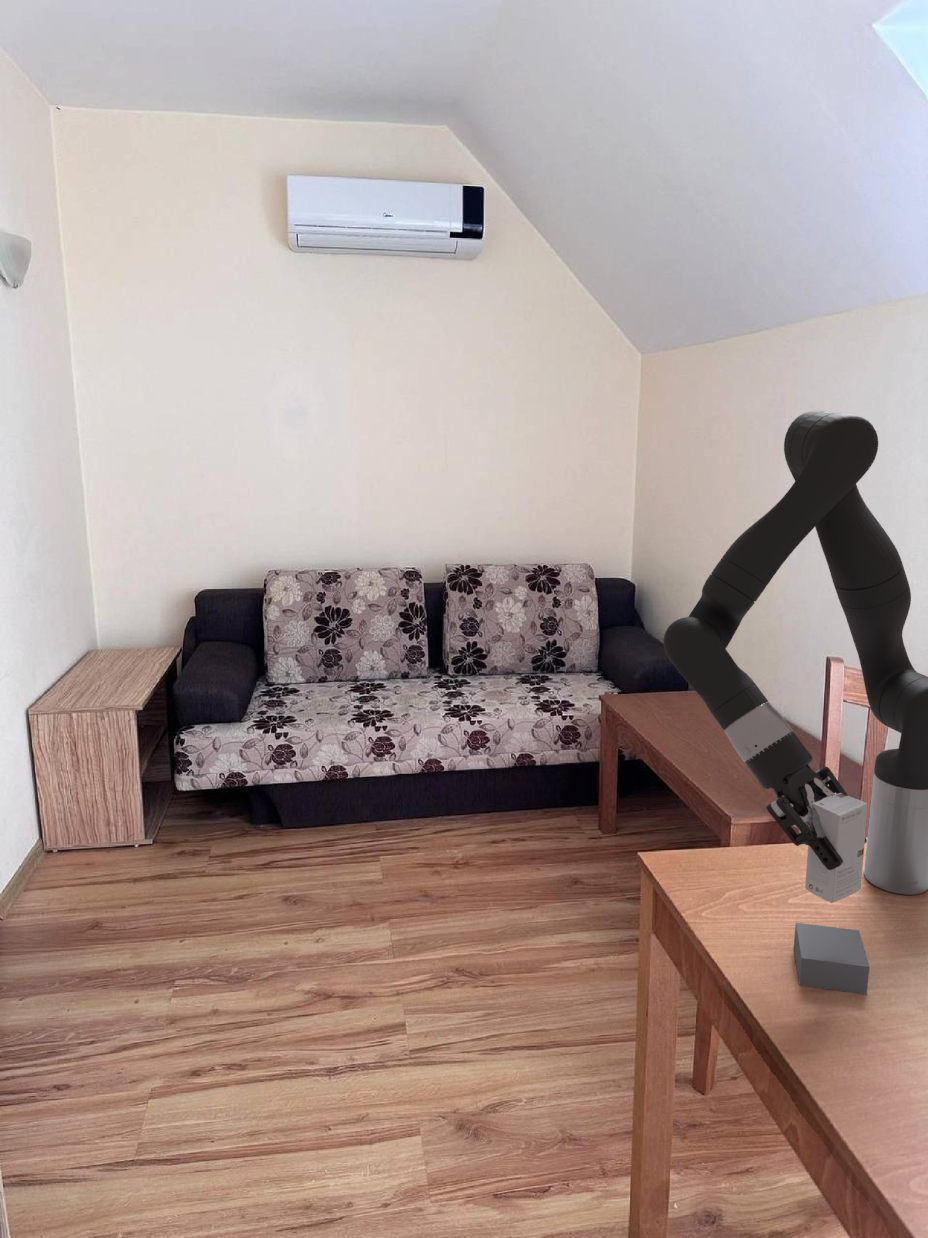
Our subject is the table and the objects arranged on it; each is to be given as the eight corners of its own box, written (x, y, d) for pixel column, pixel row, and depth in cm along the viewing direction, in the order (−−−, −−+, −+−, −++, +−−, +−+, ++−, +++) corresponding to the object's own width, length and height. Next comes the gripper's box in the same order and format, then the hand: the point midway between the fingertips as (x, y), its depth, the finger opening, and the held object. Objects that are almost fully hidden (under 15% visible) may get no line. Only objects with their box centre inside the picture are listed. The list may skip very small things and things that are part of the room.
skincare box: (833, 905, 110) (841, 817, 107) (802, 889, 114) (809, 803, 111) (862, 889, 114) (871, 803, 110) (832, 874, 117) (839, 790, 114)
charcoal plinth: (793, 948, 121) (795, 922, 120) (856, 956, 119) (859, 930, 118) (799, 985, 114) (801, 958, 113) (866, 994, 112) (869, 967, 111)
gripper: (760, 747, 109) (848, 866, 104) (812, 716, 119) (894, 824, 114) (719, 774, 114) (801, 889, 109) (772, 742, 124) (849, 847, 119)
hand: (848, 855), depth 111 cm, fingers closed on skincare box, 6 cm apart
